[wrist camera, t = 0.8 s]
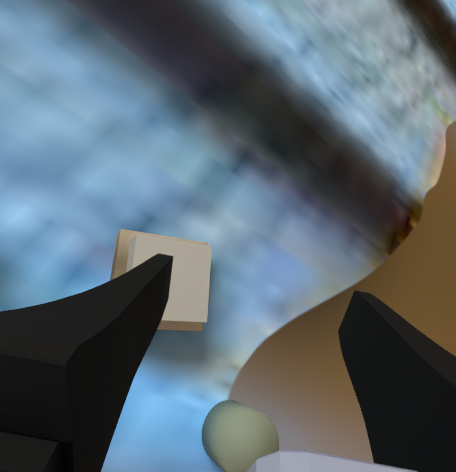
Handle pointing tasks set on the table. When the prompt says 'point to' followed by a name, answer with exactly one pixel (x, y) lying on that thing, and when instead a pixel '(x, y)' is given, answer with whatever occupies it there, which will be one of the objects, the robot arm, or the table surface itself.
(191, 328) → the birch base block
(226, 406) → the green capsule
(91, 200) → the table surface
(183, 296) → the cream block
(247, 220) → the table surface
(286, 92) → the table surface
